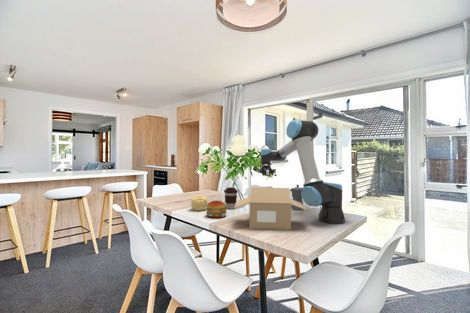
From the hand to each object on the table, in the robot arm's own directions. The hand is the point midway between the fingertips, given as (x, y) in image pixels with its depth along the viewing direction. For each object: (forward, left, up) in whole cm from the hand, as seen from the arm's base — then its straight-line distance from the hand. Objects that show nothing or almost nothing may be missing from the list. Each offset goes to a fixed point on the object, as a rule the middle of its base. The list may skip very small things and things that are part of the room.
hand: (267, 172), depth 148 cm
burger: (+33, -2, -29) cm, 44 cm away
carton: (0, +9, -29) cm, 30 cm away
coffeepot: (-24, -29, -29) cm, 48 cm away
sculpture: (+48, -17, -29) cm, 59 cm away
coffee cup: (+26, -25, -29) cm, 46 cm away
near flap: (0, +20, -11) cm, 22 cm away
